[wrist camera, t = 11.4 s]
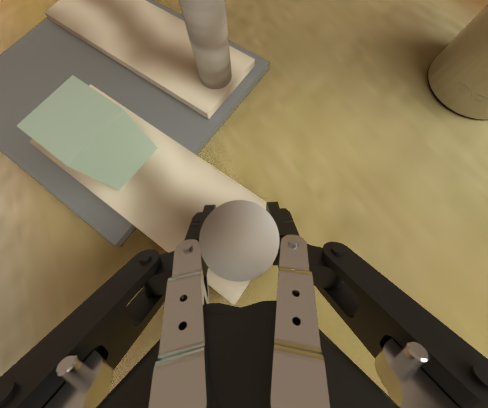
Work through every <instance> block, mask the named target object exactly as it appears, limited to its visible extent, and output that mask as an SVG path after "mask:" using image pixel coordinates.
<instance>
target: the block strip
mask: <svg viewBox="0 0 488 408" xmlns="http://www.w3.org/2000/svg"><path fill="white" fill-rule="evenodd" d="M89 86H90V87H91V88H93V89H94V90H96V91H97V92H99V93H100V94H102V95H103V96H105V97H106V98H108V99H109V100H111V101H112V102H114V103H115V104H116V105H118V106H119V107H121V108H122V109H124V110H125V112H126V113H127V114H128V115H129V116H130V117H131V118H132V120H133V121H134V122H135V123H136V124H137V125H138V126H139V128H140V129H141V130H142V131H143V132H144V133H145V134H146V135H147V137H148V138H149V139H150V140H151V141H152V142H153V143H154V145H155V146H156V147H157V150H156V151H155V152H154V153H153V154H152V155H151V156H150V157H149V158H148V160H147V161H146V162H145V163H144V164H143V165H142V166H141V167H140V169H139V170H138V171H137V172H136V173H135V174H134V175H133V176H132V177H131V179H130V180H129V181H128V182H127V183H126V184H125V185H124V186H123V188H122V189H121V190H120V191H119V190H117V189H115V188H113V187H111V186H109V185H107V184H104V183H102V182H100V181H98V180H96V179H94V178H92V177H90V176H87V175H85V174H83V173H81V172H79V171H77V170H75V169H73V168H70V167H68V166H67V165H65V164H64V163H63V162H62V161H60V160H59V159H58V158H56V157H55V156H54V155H53V154H51V153H50V152H49V151H48V150H46V149H45V148H44V147H43V146H41V145H40V144H39V143H37V142H36V141H35V140H34V139H32V140H30V141H29V142H30V143H31V144H32V145H34V146H35V147H36V148H37V149H39V150H40V151H41V152H42V153H44V154H45V155H46V156H47V157H49V158H50V159H51V160H52V161H54V162H55V163H56V164H57V165H59V166H60V167H61V168H62V169H64V170H65V171H66V172H67V173H69V174H70V175H71V176H72V177H74V178H75V179H76V180H77V181H79V182H80V183H81V184H83V185H84V186H85V187H86V188H88V189H89V190H90V191H91V192H93V193H94V194H95V195H96V196H98V197H99V198H100V199H101V200H103V201H104V202H105V203H106V204H108V205H109V206H110V207H111V208H113V209H114V210H115V211H116V212H118V213H119V214H120V215H121V216H123V217H124V218H125V219H126V220H128V221H129V222H130V223H131V224H133V225H134V226H135V227H136V228H138V229H139V230H140V231H142V232H143V233H144V234H145V235H147V236H148V237H149V238H150V239H152V240H153V241H154V242H155V243H157V244H158V245H159V246H160V247H162V248H163V249H164V250H165V251H167V252H168V253H169V252H172V251H174V250H175V247H176V246H177V245H178V244H179V243H180V242H182V241H184V239H185V237H186V234H187V231H188V229H189V227H190V223H191V221H192V218H193V216H194V215H195V214H196V213H197V212H203V209H204V206H205V205H216V208H215V209H214V210H213V211H212V212H211V213H210V214H209V215H208V216H207V218H206V219H205V221H204V223H203V225H202V228H201V231H200V236H199V247H200V252H201V255H202V257H203V260H204V262H205V263H206V265H207V266H208V267H209V268H208V271H207V279H208V285H209V286H211V287H212V288H213V289H214V290H216V291H217V292H218V293H219V294H221V295H222V296H223V297H224V298H226V299H227V300H228V301H229V302H231V303H232V304H233V305H235V304H236V302H237V301H238V299H239V298H240V296H241V295H242V293H243V292H244V290H245V289H246V287H247V286H248V284H249V283H250V281H251V280H252V279H255V278H257V277H259V276H260V275H262V274H263V273H264V272H266V271H267V270H268V269H269V268H270V266H271V265H272V264H273V262H274V260H275V258H276V256H277V253H278V249H279V232H278V228H277V225H276V223H275V221H274V219H273V218H272V216H271V215H270V214H269V213H268V212H267V211H266V203H267V202H265V201H264V200H262V199H261V198H259V197H258V196H256V195H255V194H253V193H252V192H250V191H249V190H247V189H246V188H245V187H243V186H242V185H240V184H239V183H237V182H236V181H234V180H233V179H231V178H230V177H228V176H227V175H225V174H224V173H222V172H221V171H219V170H218V169H216V168H215V167H213V166H212V165H210V164H209V163H207V162H206V161H204V160H203V159H201V158H200V157H198V156H197V155H195V154H194V153H192V152H191V151H189V150H188V149H186V148H185V147H183V146H182V145H180V144H179V143H178V142H176V141H175V140H173V139H172V138H170V137H169V136H167V135H166V134H164V133H163V132H161V131H160V130H158V129H157V128H155V127H154V126H152V125H151V124H149V123H148V122H146V121H145V120H143V119H142V118H140V117H139V116H137V115H136V114H134V113H133V112H131V111H130V110H128V109H127V108H125V107H124V106H122V105H121V104H119V103H118V102H116V101H115V100H113V99H112V98H111V97H109V96H108V95H106V94H105V93H103V92H102V91H100V90H99V89H97V88H96V87H94V86H93V85H91V84H90V85H89Z"/></svg>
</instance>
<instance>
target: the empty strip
mask: <svg viewBox="0 0 488 408" xmlns="http://www.w3.org/2000/svg"><path fill="white" fill-rule="evenodd" d="M179 3H180V7H181V11H182V14H183V18H184V21H183V20H181V19H179V18H178V17H176V16H174V15H172V14H170V13H168V12H166V11H165V10H163V9H161V8H159V7H157V6H155V5H153V4H152V3H150V2H148V1H146V0H59V1H58V2H57V3H55V4H54V5H53V6H51V7H50V8H49V9H48V10H46V11H45V12H44V13H45V14H46V15H47V16H48V18H49V19H50V20H51V21H53V22H54V23H56V24H57V25H59V26H61V27H62V28H64V29H65V30H67V31H69V32H70V33H72V34H73V35H75V36H77V37H78V38H80V39H81V40H83V41H85V42H86V43H88V44H89V45H91V46H93V47H94V48H96V49H97V50H99V51H101V52H102V53H104V54H105V55H107V56H109V57H110V58H112V59H113V60H115V61H116V62H118V63H120V64H121V65H123V66H124V67H126V68H128V69H129V70H131V71H132V72H134V73H136V74H137V75H139V76H140V77H142V78H144V79H145V80H147V81H148V82H150V83H152V84H153V85H155V86H156V87H158V88H160V89H161V90H163V91H164V92H166V93H168V94H169V95H171V96H172V97H174V98H176V99H177V100H179V101H180V102H182V103H184V104H185V105H187V106H188V107H190V108H192V109H193V110H195V111H196V112H198V113H200V114H201V115H203V116H204V117H206V118H208V119H210V117H211V116H212V115H213V114H214V113H215V112H216V111H217V109H218V108H219V107H220V106H221V105H222V104H223V102H224V101H225V100H226V99H227V98H228V97H229V95H230V94H231V93H232V92H233V91H234V90H235V88H236V87H237V86H238V85H239V84H240V83H241V81H242V80H243V79H244V78H245V77H246V76H247V75H248V73H249V72H250V71H251V70H252V69H253V68H254V66H255V59H254V58H252V57H250V56H248V55H246V54H244V53H242V52H241V51H239V50H237V49H235V48H233V47H231V46H229V40H228V29H227V18H226V7H225V0H179Z"/></svg>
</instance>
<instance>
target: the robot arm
mask: <svg viewBox="0 0 488 408" xmlns="http://www.w3.org/2000/svg"><path fill="white" fill-rule="evenodd" d="M428 80H429V83H430V87H431V89H432V90H433V92H434V94H435V95H436V96H437V98H438V99H439V100H440V101H441V102H442V103H443V104H444V105H446V106H447V107H448V108H450V109H451V110H453V111H455V112H456V113H459V114H461V115H464V116H466V117H470V118H475V119H485V120H488V5H487V6H486V7H485V8H484V9H483V10H482V11H481V12H480V13H479V14H478V15H477V16H476V17H475V18H474V19H473V20H472V21H471V22H470V23H469V24H468V25H467V26H466V27H465V28H464V29H463V30H462V31H461V32H460V33H459V34H458V35H457V36H456V37H455V38H454V39H453V41H452V42H451V43H450V44H449V45H448V46H447V47H446V48H445V49H444V50H443V51H442V52H441V53H440V54H439V55H438V56H437V57H436V58H435V59H434V60H433V62H432V63H431V65H430V68H429V71H428ZM215 208H216V205H205V206H204V209H203V212H197V213H196V214H195V215H194V216H193V218H192V221H191V223H190V227H189V229H188V231H187V234H186V237H185V239H184V241H182V242H180V243H179V244H178V245H177V246H176V247H175V250H174V251H172V252H169V253H166V254H162V255H159V253H158V252H157V251H156V250H145V251H142V252H140V253H139V254H137V255H136V256H135V257H133V258H132V259H131V260H130V261H129V262H128V263H127V264H126V265H125V266H123V267H122V268H121V269H120V270H119V271H118V272H117V273H116V274H115V275H113V276H112V277H111V278H110V279H109V280H108V281H107V282H106V283H105V284H103V285H102V286H101V287H100V288H99V289H98V290H97V291H96V292H95V293H93V294H92V295H91V296H90V297H89V298H88V299H87V300H86V301H85V302H83V303H82V304H81V305H80V306H79V307H78V308H77V309H76V310H75V311H73V312H72V313H71V314H70V315H69V316H68V317H67V318H66V319H65V320H63V321H62V322H61V323H60V324H59V325H58V326H57V327H56V328H54V329H53V330H52V331H51V332H50V333H49V334H48V335H47V336H46V337H44V338H43V339H42V340H41V341H40V342H39V343H38V344H37V345H36V346H34V347H33V348H32V349H31V350H30V351H29V352H28V353H27V354H26V355H24V356H23V357H22V358H21V359H20V360H19V361H18V362H17V363H16V364H14V365H13V366H12V367H11V368H10V369H9V370H8V371H7V372H6V373H4V374H3V375H2V376H1V377H0V408H488V359H487V358H486V357H484V356H483V355H482V354H481V353H479V352H478V351H477V350H476V349H474V348H473V347H472V346H471V345H469V344H468V343H467V342H466V341H464V340H463V339H462V338H461V337H459V336H458V335H457V334H456V333H454V332H453V331H452V330H451V329H449V328H448V327H447V326H446V325H444V324H443V323H442V322H441V321H439V320H438V319H437V318H436V317H434V316H433V315H432V314H431V313H429V312H428V311H427V310H426V309H424V308H423V307H422V306H421V305H419V304H418V303H417V302H416V301H414V300H413V299H412V298H411V297H409V296H408V295H407V294H406V293H404V292H403V291H402V290H401V289H399V288H398V287H397V286H396V285H394V284H393V283H392V282H391V281H389V280H388V279H387V278H386V277H384V276H383V275H382V274H381V273H379V272H378V271H377V270H376V269H374V268H373V267H372V266H371V265H369V264H368V263H367V262H366V261H364V260H363V259H362V258H361V257H359V256H358V255H357V254H356V253H354V252H353V251H352V250H351V249H349V248H348V247H347V246H345V245H343V244H341V243H338V242H328V243H326V244H325V245H324V246H323V248H321V247H316V246H311V245H309V244H307V243H306V241H305V240H304V239H303V238H302V237H300V236H299V234H298V231H297V229H296V226H295V224H294V221H293V219H292V216H291V214H290V212H289V211H288V210H287V209H285V208H283V209H280V208H279V205H278V202H267V203H266V211H267V212H268V213H269V214H270V215H271V216H272V218H273V219H274V221H275V223H276V225H277V228H278V232H279V249H278V253H277V256H276V258H275V260H274V262H273V265H278V268H279V273H278V288H277V301H262V302H259V303H255V304H252V305H249V306H245V307H242V308H239V307H234V306H230V305H225V304H221V303H210V300H209V290H208V279H207V271H208V268H209V267H208V266H207V265H206V263H205V262H204V260H203V257H202V255H201V252H200V247H199V236H200V231H201V228H202V225H203V223H204V221H205V219H206V218H207V216H208V215H209V214H210V213H211V212H212V211H213V210H214V209H215ZM314 286H316V287H317V289H318V290H319V291H320V293H321V294H322V295H323V296H324V297H325V299H326V300H327V301H328V302H329V303H330V305H331V306H332V307H333V308H334V309H335V311H336V312H337V313H338V314H339V315H340V317H341V318H342V319H343V320H344V322H345V323H346V324H347V325H348V326H349V328H350V329H351V330H352V331H353V332H354V334H355V335H356V336H357V337H358V338H359V340H360V341H361V342H362V343H363V344H364V346H365V347H366V348H367V349H368V350H369V352H370V353H371V354H372V355H373V356H374V358H375V368H376V371H377V374H378V376H379V378H380V379H381V382H382V384H383V385H384V387H385V388H386V389H387V391H388V394H389V396H390V397H389V396H388V395H387V394H386V393H385V392H384V391H383V390H382V389H381V388H379V387H378V386H377V385H376V384H375V383H374V382H373V381H372V380H371V379H370V378H369V377H368V376H367V375H366V374H365V373H364V372H363V371H362V370H361V369H360V368H359V367H358V366H357V365H356V364H355V363H354V362H353V361H352V360H351V359H350V358H349V357H348V356H346V355H345V354H344V353H343V352H342V351H341V350H340V349H339V348H338V347H337V346H336V345H335V344H334V343H333V342H332V341H331V340H330V339H329V338H328V337H327V336H326V335H325V334H324V333H323V332H322V331H321V330H320V329H319V328H318V319H317V310H316V301H315V292H314ZM141 288H143V289H142V290H141V291H140V293H139V294H138V295H137V296H136V297H135V298H134V299H133V300H132V301H131V303H130V304H129V305H128V306H127V304H128V302H129V301H130V300H131V299H132V298H133V297H134V296H135V294H136V293H137V292H138V291H139V290H140V289H141ZM164 302H165V305H164V314H163V322H162V331H161V339H160V340H159V341H158V342H157V343H156V344H155V345H154V346H153V347H152V348H151V349H150V351H149V352H148V353H147V354H146V355H145V356H144V357H143V358H142V359H141V360H140V361H139V362H138V363H137V364H136V365H135V367H134V368H133V369H132V370H131V371H130V372H129V373H128V374H127V375H126V376H125V377H124V378H123V379H122V380H121V381H120V382H119V384H118V385H117V386H116V387H115V388H114V389H113V390H112V391H111V392H110V393H109V390H110V385H111V382H112V379H113V370H114V369H115V367H116V366H117V365H118V363H119V362H120V361H121V359H122V358H123V357H124V355H125V354H126V353H127V351H128V350H129V349H130V347H131V346H132V345H133V343H134V342H135V340H136V339H137V338H138V336H139V335H140V334H141V332H142V331H143V330H144V328H145V327H146V326H147V324H148V323H149V322H150V320H151V319H152V318H153V316H154V315H155V314H156V312H157V311H158V310H159V308H160V307H161V306H162V304H163V303H164ZM126 306H127V307H126ZM108 393H109V394H108ZM101 401H102V402H101Z"/></svg>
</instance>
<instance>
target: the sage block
mask: <svg viewBox="0 0 488 408" xmlns="http://www.w3.org/2000/svg"><path fill="white" fill-rule="evenodd" d="M17 127H18V128H20V129H21V130H22V131H24V132H25V133H26V134H27V135H29V136H30V137H31V138H32V139H34V140H35V141H36V142H37V143H39V144H40V145H41V146H43V147H44V148H45V149H46V150H48V151H49V152H50V153H51V154H53V155H54V156H55V157H56V158H58V159H59V160H60V161H62V162H63V163H64V164H65V165H67V166H68V167H70V168H73V169H75V170H77V171H79V172H81V173H83V174H85V175H87V176H90V177H92V178H94V179H96V180H98V181H100V182H102V183H104V184H107V185H109V186H111V187H113V188H115V189H117V190H119V191H120V190H121V189H122V188H123V186H124V185H125V184H126V183H127V182H128V181H129V180H130V179H131V177H132V176H133V175H134V174H135V173H136V172H137V171H138V170H139V169H140V167H141V166H142V165H143V164H144V163H145V162H146V161H147V160H148V158H149V157H150V156H151V155H152V154H153V153H154V152H155V151H156V150H157V147H156V146H155V145H154V143H153V142H152V141H151V140H150V139H149V138H148V137H147V135H146V134H145V133H144V132H143V131H142V130H141V129H140V128H139V126H138V125H137V124H136V123H135V122H134V121H133V120H132V118H131V117H130V116H129V115H128V114H127V113H126V112H125V110H124V109H122V108H121V107H119V106H118V105H116V104H115V103H114V102H112V101H111V100H109V99H108V98H106V97H105V96H103V95H102V94H100V93H99V92H97V91H96V90H94V89H93V88H91V87H90V86H88V85H87V84H85V83H84V82H82V81H81V80H79V79H78V78H76V77H75V76H74V75H72V76H71V77H70V78H69V79H68V80H67V81H65V82H64V83H63V84H62V85H61V86H60V87H59V88H58V89H57V90H55V91H54V92H53V93H52V94H51V95H50V96H49V97H48V98H47V99H45V100H44V101H43V102H42V103H41V104H40V105H39V106H38V107H37V108H36V109H34V110H33V111H32V112H31V113H30V114H29V115H28V116H27V117H26V118H24V119H23V120H22V121H21V122H20V123H19V124H18V125H17Z"/></svg>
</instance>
